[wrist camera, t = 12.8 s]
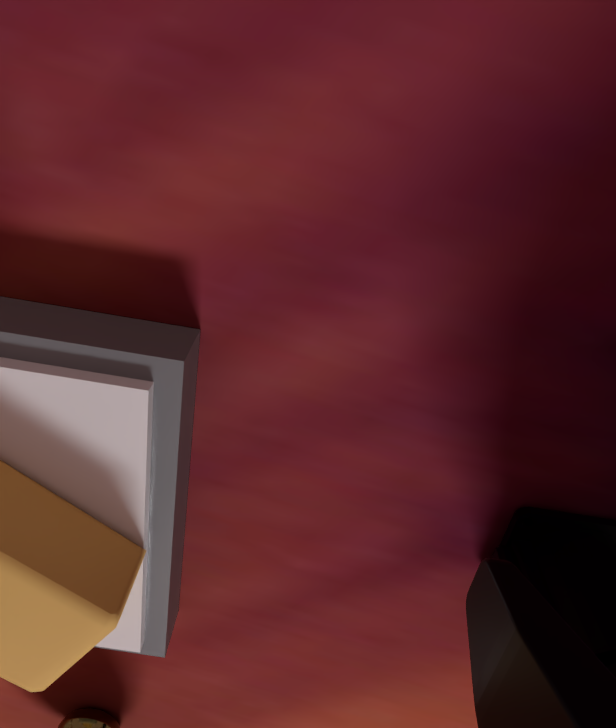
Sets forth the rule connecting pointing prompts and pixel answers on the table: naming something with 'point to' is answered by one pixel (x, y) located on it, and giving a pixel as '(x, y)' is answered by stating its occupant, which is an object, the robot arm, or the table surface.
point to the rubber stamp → (55, 581)
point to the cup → (88, 719)
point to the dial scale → (107, 437)
